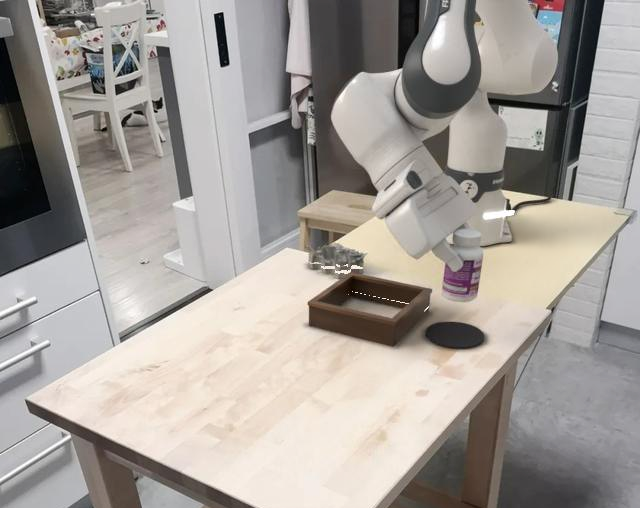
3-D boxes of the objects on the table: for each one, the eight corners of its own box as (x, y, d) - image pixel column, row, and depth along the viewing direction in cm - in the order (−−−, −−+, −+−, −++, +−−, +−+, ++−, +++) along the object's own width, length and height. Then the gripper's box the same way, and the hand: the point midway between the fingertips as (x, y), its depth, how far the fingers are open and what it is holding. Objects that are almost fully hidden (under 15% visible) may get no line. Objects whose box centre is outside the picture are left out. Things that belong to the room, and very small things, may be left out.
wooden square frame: (349, 294, 124) (350, 271, 122) (430, 312, 118) (432, 288, 116) (307, 326, 113) (307, 301, 111) (393, 347, 107) (395, 322, 105)
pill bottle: (476, 304, 105) (486, 240, 100) (440, 301, 106) (447, 237, 100) (477, 291, 109) (486, 228, 104) (442, 287, 110) (449, 225, 105)
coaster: (431, 320, 116) (431, 318, 116) (487, 328, 113) (488, 326, 113) (420, 343, 109) (420, 341, 108) (479, 353, 106) (479, 350, 106)
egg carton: (302, 266, 136) (302, 244, 133) (331, 257, 140) (331, 236, 138) (340, 281, 129) (341, 259, 127) (370, 272, 133) (371, 250, 131)
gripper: (422, 181, 112) (474, 252, 114) (366, 213, 97) (426, 295, 99) (452, 155, 108) (505, 229, 110) (399, 184, 93) (461, 270, 95)
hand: (467, 261), depth 104 cm, fingers closed on pill bottle, 5 cm apart
